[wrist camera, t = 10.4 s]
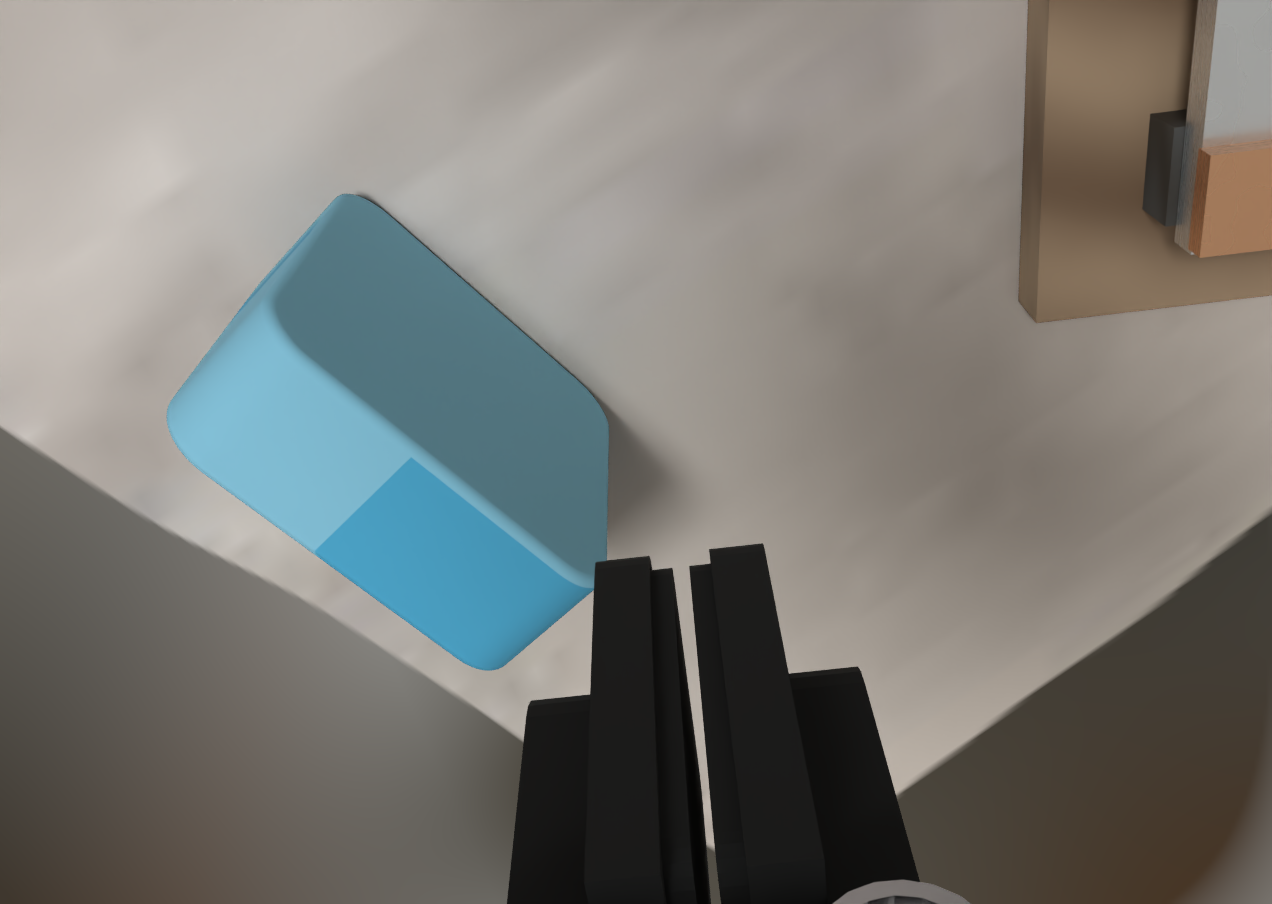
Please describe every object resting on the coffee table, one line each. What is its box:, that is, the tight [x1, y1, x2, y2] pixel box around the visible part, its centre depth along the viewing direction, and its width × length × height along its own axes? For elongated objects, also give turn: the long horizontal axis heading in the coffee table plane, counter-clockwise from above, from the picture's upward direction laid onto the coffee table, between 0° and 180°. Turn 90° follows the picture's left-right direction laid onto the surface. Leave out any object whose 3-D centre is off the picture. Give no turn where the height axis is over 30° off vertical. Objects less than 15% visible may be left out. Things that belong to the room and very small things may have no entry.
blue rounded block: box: [167, 194, 609, 670], centre depth 36 cm, size 12×4×12 cm, turn 45°
